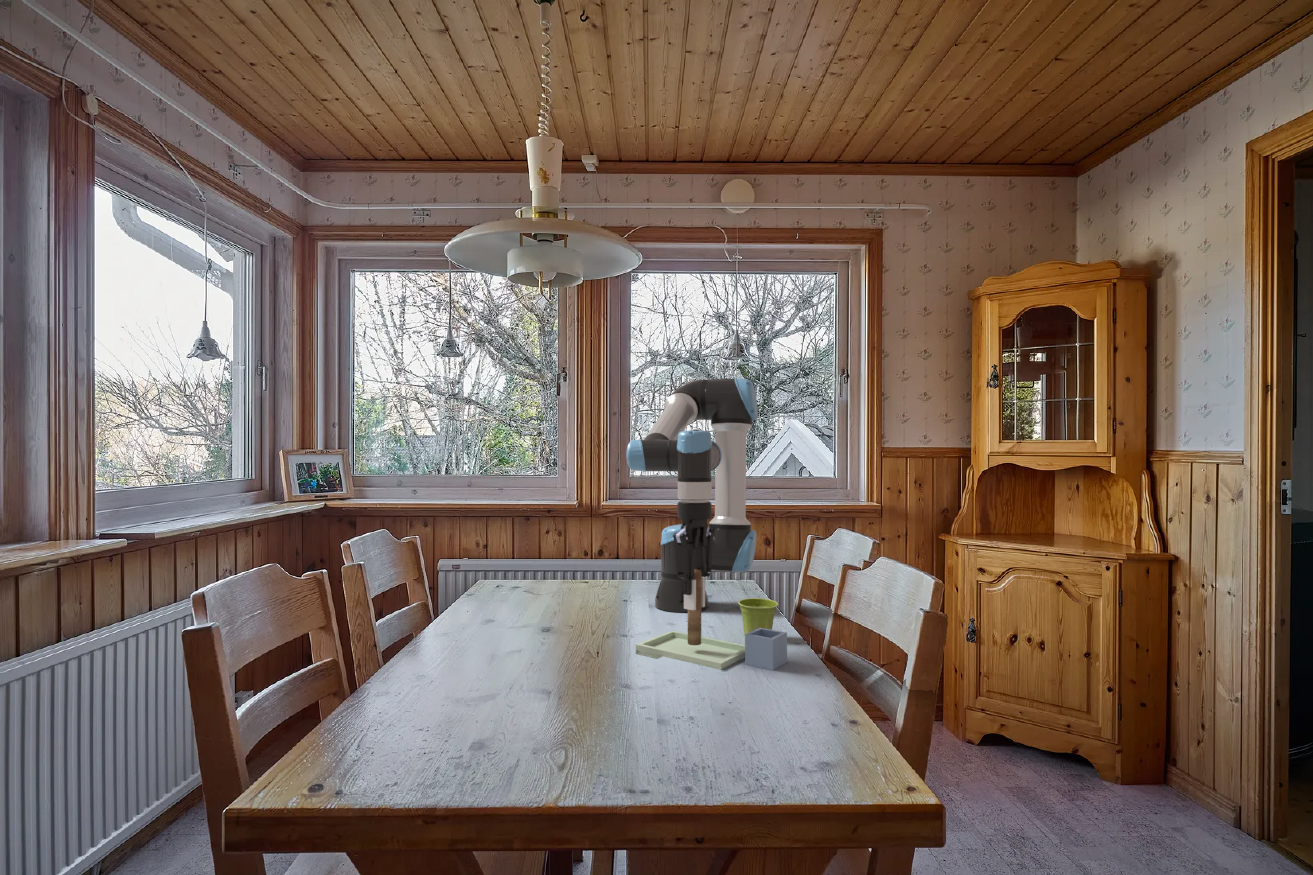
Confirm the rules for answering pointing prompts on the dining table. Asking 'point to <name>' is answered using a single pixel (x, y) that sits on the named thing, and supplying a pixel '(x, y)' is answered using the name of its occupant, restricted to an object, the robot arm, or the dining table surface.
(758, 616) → the plant pot
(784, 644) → the open box
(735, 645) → the tray
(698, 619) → the dowel
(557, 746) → the dining table surface
